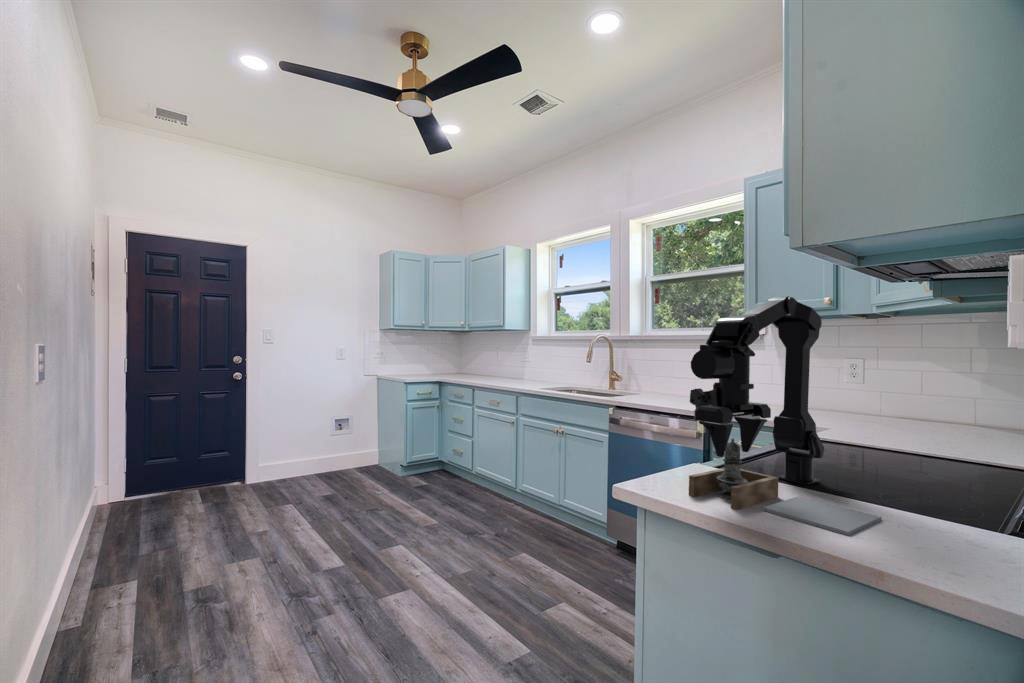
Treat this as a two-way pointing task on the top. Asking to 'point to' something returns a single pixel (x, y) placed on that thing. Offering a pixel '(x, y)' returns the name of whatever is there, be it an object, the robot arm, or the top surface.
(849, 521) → the slate mat
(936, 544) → the top surface
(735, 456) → the grey tall turned piece
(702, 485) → the brown wooden u-shaped frame
